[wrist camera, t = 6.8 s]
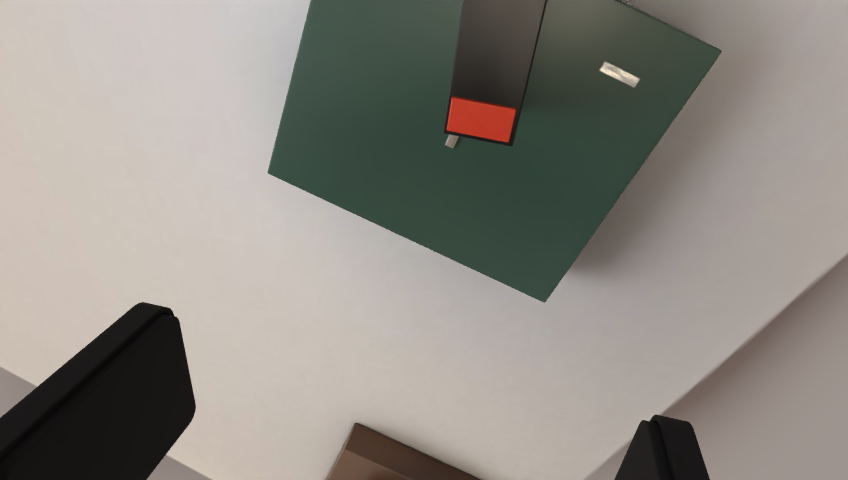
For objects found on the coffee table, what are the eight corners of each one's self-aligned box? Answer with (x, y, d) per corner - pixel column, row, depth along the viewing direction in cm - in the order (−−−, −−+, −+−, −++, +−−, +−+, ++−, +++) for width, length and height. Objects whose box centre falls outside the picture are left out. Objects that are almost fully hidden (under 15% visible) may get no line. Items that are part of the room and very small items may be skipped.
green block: (756, -47, 18) (795, -48, 15) (544, 269, 26) (545, 305, 23) (398, -222, 17) (372, -256, 15) (295, 151, 25) (265, 174, 23)
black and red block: (494, -85, 16) (477, -101, 12) (561, -75, 16) (568, -88, 12) (461, 99, 19) (440, 135, 15) (518, 110, 19) (512, 150, 15)
